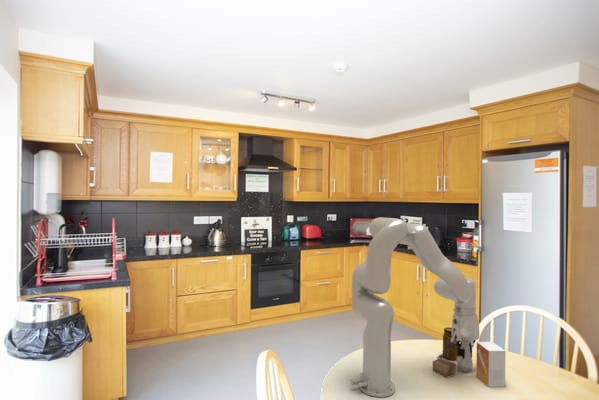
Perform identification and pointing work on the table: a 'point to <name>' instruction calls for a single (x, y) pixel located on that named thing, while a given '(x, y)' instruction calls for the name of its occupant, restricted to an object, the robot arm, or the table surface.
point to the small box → (490, 364)
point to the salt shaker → (465, 359)
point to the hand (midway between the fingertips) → (464, 356)
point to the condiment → (448, 346)
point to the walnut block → (444, 367)
